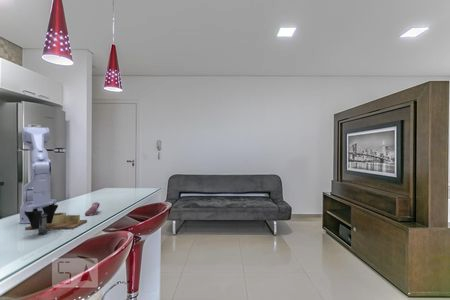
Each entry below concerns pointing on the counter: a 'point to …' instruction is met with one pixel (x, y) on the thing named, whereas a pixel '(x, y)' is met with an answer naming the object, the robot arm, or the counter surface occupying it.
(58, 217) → the hinge
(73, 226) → the hinge board
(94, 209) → the mauve lumpy piece
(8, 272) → the counter surface
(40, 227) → the hinge pin
